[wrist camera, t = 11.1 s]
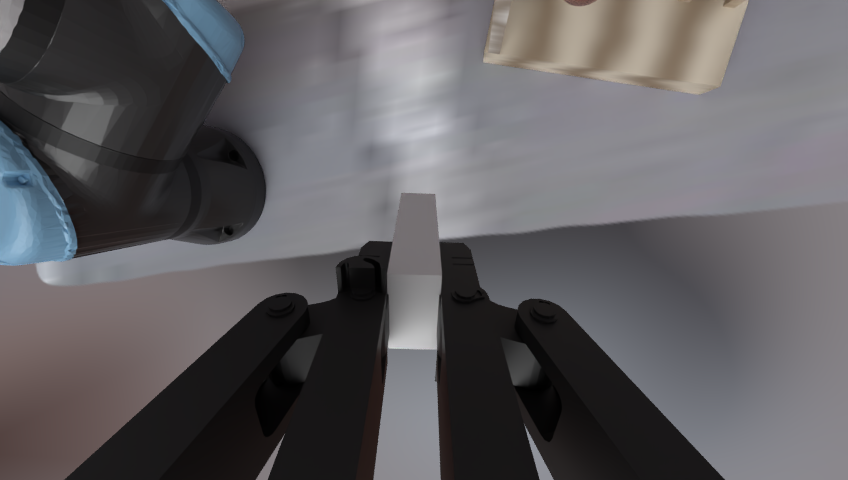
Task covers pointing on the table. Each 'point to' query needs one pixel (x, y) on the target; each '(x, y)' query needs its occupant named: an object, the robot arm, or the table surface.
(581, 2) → the terracotta lever
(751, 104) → the table surface
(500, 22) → the switch unit
